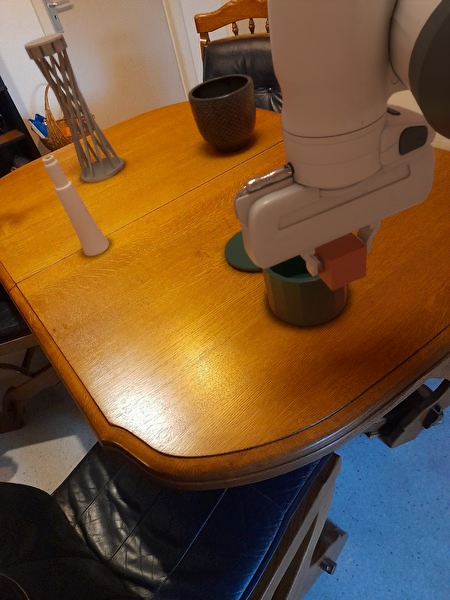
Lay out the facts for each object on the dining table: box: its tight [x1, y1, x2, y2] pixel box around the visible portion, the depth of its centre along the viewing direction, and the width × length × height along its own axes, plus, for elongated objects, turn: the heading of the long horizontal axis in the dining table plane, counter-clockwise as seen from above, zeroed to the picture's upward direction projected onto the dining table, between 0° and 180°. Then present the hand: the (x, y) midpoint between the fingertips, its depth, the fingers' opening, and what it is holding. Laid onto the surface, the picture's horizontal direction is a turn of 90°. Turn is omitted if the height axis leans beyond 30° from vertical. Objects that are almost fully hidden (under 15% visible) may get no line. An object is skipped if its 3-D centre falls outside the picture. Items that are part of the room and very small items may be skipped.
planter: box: [187, 73, 257, 154], centre depth 110 cm, size 17×17×16 cm
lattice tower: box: [23, 32, 125, 183], centre depth 111 cm, size 14×13×35 cm
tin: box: [261, 255, 348, 327], centre depth 64 cm, size 13×13×10 cm
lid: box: [224, 229, 263, 272], centre depth 77 cm, size 14×14×5 cm
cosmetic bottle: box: [42, 154, 110, 257], centre depth 85 cm, size 6×6×22 cm
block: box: [314, 232, 368, 291], centre depth 46 cm, size 4×4×4 cm
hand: (338, 261), depth 46 cm, fingers closed on block, 4 cm apart
